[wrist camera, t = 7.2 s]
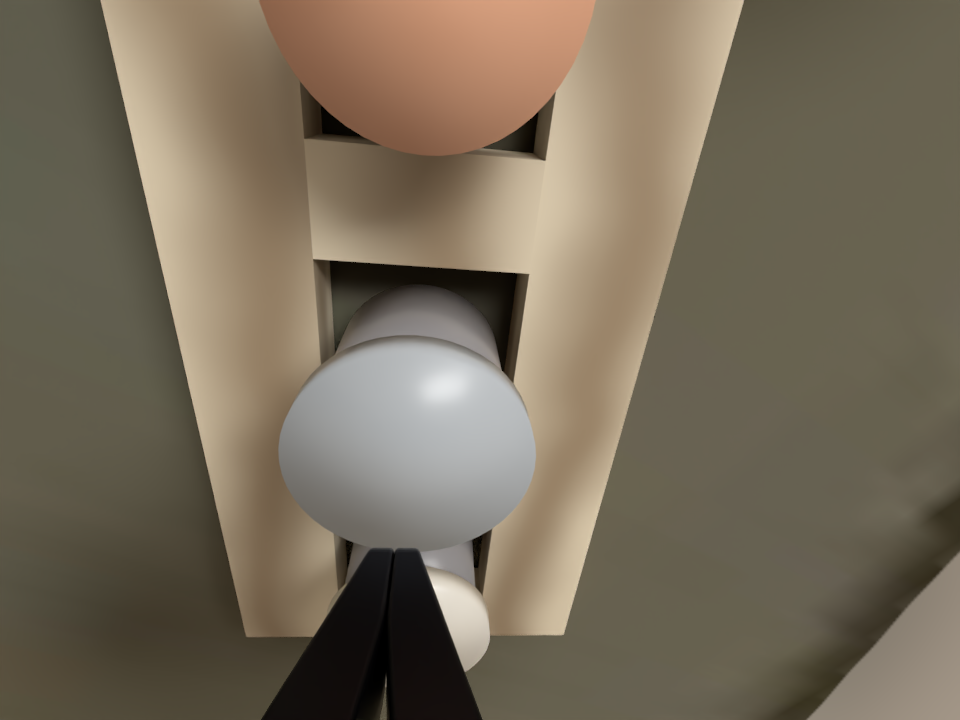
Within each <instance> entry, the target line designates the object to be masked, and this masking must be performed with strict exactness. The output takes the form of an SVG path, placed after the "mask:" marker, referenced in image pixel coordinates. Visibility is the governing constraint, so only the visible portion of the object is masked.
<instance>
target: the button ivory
mask: <svg viewBox="0 0 960 720" xmlns="http://www.w3.org/2000/svg"><path fill="white" fill-rule="evenodd" d="M370 549H371V548H370V547H366V546H362V545H360V544H357V543H353V548H352V553H351V558H350V562H349V567H348V572H347V577H346V582H345V585H344V586H343V587H342V588H341V589H340V590H339V591H338V592H337V593H336V594H335V595H334V597H333V598H332V600H331V602H330V604H329V606H328V611H327V615H328V613H329V612H330V610H331V608H332V607H333V605H334V604H335V602H336V600H337V599H338V597H339V596H340V594H341V593H342V591H343V589H344V588H345V586H346V585H347V583H348V582H349V580H350V578H351V577H352V575H353V574H354V572H355V571H356V569H357V567H358V566H359V564H360V563H361V561H362V559H363V558H364V556H365V555H366V553H367V552H368V551H369V550H370ZM420 553H421V556H422V558H423V561H424V564H425V567H426V569H427V572H428V575H429V577H430V580H431V583H432V585H433V588H434V591H435V593H436V596H437V599H438V601H439V604H440V607H441V610H442V612H443V615H444V618H445V620H446V623H447V626H448V628H449V631H450V634H451V636H452V639H453V642H454V644H455V647H456V650H457V653H458V655H459V658H460V661H461V663H462V666H463V669H464V671H465V672H466V671H467V670H469V669H470V668H472V667H473V666H474V665H475V664H476V663H477V662H478V661H479V660H480V659H481V658H482V656H483V655H484V654H485V652H486V650H487V648H488V645H489V641H490V630H489V618H488V609H487V605H486V602H485V599H484V598H483V596H482V594H481V593H480V592H479V591H478V590H477V588H476V587H475V577H474V560H473V544H472V540H470V541H467V542H465V543H462V544H459V545H456V546H452V547H448V548H444V549H439V550H433V551H425V552H420ZM327 615H326V616H327ZM385 687H386V684H385Z"/></svg>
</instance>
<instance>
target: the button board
mask: <svg viewBox="0 0 960 720" xmlns="http://www.w3.org/2000/svg"><path fill="white" fill-rule="evenodd" d="M743 2H744V0H596V1H595V6H594V10H593V15H592V18H591V21H590V24H589V27H588V30H587V33H586V36H585V39H584V42H583V44H582V46H581V48H580V51H579V53H578V55H577V57H576V59H575V62H574V64H573V65H572V67H571V69H570V70H569V72H568V74H567V75H566V77H565V79H564V80H563V82H562V84H561V85H560V86H559V88H558V89H557V90H556V92H555V93H554V94H553V96H552V97H551V98H550V99H549V101H548V102H547V103H546V104H545V105H544V106H543V107H542V108H541V109H540V110H539V113H538V121H537V128H536V136H535V143H534V151H533V153H527V152H516V151H506V150H495V149H484V148H480V149H477V150H473V151H469V152H465V153H462V154H453V155H445V156H426V155H417V154H411V153H405V152H401V151H397V150H394V149H391V148H388V147H384V146H382V145H380V144H377V143H375V142H373V141H371V140H369V139H366V138H364V137H356V136H346V135H335V134H324V133H322V120H321V104H320V103H319V102H318V101H317V100H316V99H315V98H314V97H313V96H312V95H311V94H310V93H309V92H308V90H307V89H306V88H305V87H304V85H303V84H302V83H301V82H300V80H299V79H298V78H297V77H296V75H295V74H294V72H293V71H292V69H291V67H290V66H289V64H288V63H287V61H286V60H285V58H284V56H283V55H282V53H281V51H280V49H279V47H278V45H277V43H276V41H275V39H274V37H273V35H272V33H271V31H270V29H269V27H268V24H267V21H266V19H265V16H264V13H263V11H262V8H261V5H260V3H259V0H101V4H102V9H103V13H104V17H105V22H106V26H107V30H108V35H109V39H110V43H111V48H112V52H113V57H114V61H115V65H116V70H117V74H118V78H119V83H120V87H121V92H122V96H123V100H124V105H125V109H126V113H127V118H128V122H129V127H130V131H131V135H132V140H133V144H134V148H135V153H136V157H137V161H138V166H139V170H140V175H141V179H142V183H143V188H144V192H145V196H146V201H147V205H148V210H149V214H150V218H151V223H152V227H153V231H154V236H155V240H156V245H157V249H158V253H159V258H160V262H161V266H162V271H163V275H164V280H165V284H166V288H167V293H168V297H169V301H170V306H171V310H172V314H173V319H174V323H175V328H176V332H177V336H178V341H179V345H180V349H181V354H182V358H183V363H184V367H185V371H186V376H187V380H188V384H189V389H190V393H191V398H192V402H193V406H194V411H195V415H196V419H197V424H198V428H199V432H200V437H201V441H202V446H203V450H204V454H205V459H206V463H207V467H208V472H209V476H210V481H211V485H212V489H213V494H214V498H215V502H216V507H217V511H218V516H219V520H220V524H221V529H222V533H223V537H224V542H225V546H226V551H227V555H228V559H229V564H230V568H231V572H232V577H233V581H234V585H235V590H236V594H237V599H238V603H239V607H240V612H241V616H242V620H243V625H244V629H245V634H246V637H314V635H315V634H316V632H317V630H318V629H319V627H320V626H321V624H322V623H323V621H324V619H325V618H326V615H327V611H328V606H329V604H330V602H331V600H332V598H333V597H334V595H335V594H336V593H337V592H338V591H339V590H340V589H341V588H342V587H343V586H344V585H345V582H346V577H347V572H348V567H347V550H346V539H344V538H342V537H340V536H337V535H335V534H334V533H332V532H330V531H329V530H327V529H325V528H324V527H322V526H321V525H320V524H318V523H317V522H316V521H314V520H313V519H312V518H311V517H310V516H309V515H308V514H307V513H306V512H305V511H304V510H303V509H302V508H301V507H300V506H299V504H298V503H297V502H296V501H295V499H294V498H293V496H292V495H291V493H290V491H289V490H288V488H287V486H286V483H285V481H284V478H283V476H282V473H281V468H280V464H279V452H278V447H279V439H280V433H281V430H282V427H283V423H284V421H285V419H286V417H287V415H288V412H289V410H290V408H291V406H292V404H293V402H294V400H295V398H296V396H297V395H298V393H299V391H300V389H301V387H302V386H303V384H304V383H305V381H306V380H307V379H308V377H309V376H310V375H311V374H312V373H313V372H314V371H315V370H316V369H317V368H318V367H319V366H320V365H321V364H323V363H324V362H325V361H327V360H328V359H329V358H331V357H332V356H333V355H335V344H334V326H333V309H332V292H331V275H330V260H334V261H349V262H363V263H378V264H392V265H407V266H422V267H436V268H451V269H465V270H480V271H495V272H509V273H517V279H516V287H515V294H514V302H513V309H512V317H511V324H510V332H509V339H508V347H507V354H506V362H505V370H504V373H505V374H506V375H507V377H508V378H509V379H510V380H511V381H512V383H513V384H514V385H515V387H516V388H517V390H518V392H519V393H520V395H521V397H522V399H523V401H524V404H525V406H526V409H527V412H528V416H529V420H530V424H531V427H532V431H533V436H534V440H535V448H536V461H535V469H534V473H533V477H532V480H531V483H530V485H529V487H528V489H527V492H526V493H525V495H524V497H523V498H522V500H521V501H520V503H519V504H518V505H517V507H516V508H515V509H514V510H513V511H512V512H511V514H509V515H508V516H507V517H506V518H505V519H504V520H503V521H502V522H501V523H499V524H498V525H496V526H495V527H494V528H492V529H491V530H489V531H487V532H486V533H484V534H483V536H482V543H481V551H480V558H479V566H478V568H474V577H475V587H476V588H477V590H478V591H479V592H480V593H481V594H482V596H483V598H484V599H485V602H486V605H487V609H488V618H489V630H490V635H564V631H565V628H566V624H567V620H568V617H569V613H570V610H571V606H572V603H573V599H574V596H575V592H576V589H577V585H578V582H579V578H580V575H581V571H582V568H583V564H584V561H585V557H586V554H587V550H588V547H589V543H590V540H591V536H592V533H593V529H594V526H595V522H596V519H597V515H598V512H599V508H600V505H601V501H602V498H603V494H604V490H605V487H606V483H607V480H608V476H609V473H610V469H611V466H612V462H613V459H614V455H615V452H616V448H617V445H618V441H619V438H620V434H621V431H622V427H623V424H624V420H625V417H626V413H627V410H628V406H629V403H630V399H631V396H632V392H633V389H634V385H635V382H636V378H637V375H638V371H639V368H640V364H641V360H642V357H643V353H644V350H645V346H646V343H647V339H648V336H649V332H650V329H651V325H652V322H653V318H654V315H655V311H656V308H657V304H658V301H659V297H660V294H661V290H662V287H663V283H664V280H665V276H666V273H667V269H668V266H669V262H670V259H671V255H672V252H673V248H674V245H675V241H676V237H677V234H678V230H679V227H680V223H681V220H682V216H683V213H684V209H685V206H686V202H687V199H688V195H689V192H690V188H691V185H692V181H693V178H694V174H695V171H696V167H697V164H698V160H699V157H700V153H701V150H702V146H703V143H704V139H705V136H706V132H707V129H708V125H709V122H710V118H711V115H712V111H713V107H714V104H715V100H716V97H717V93H718V90H719V86H720V83H721V79H722V76H723V72H724V69H725V65H726V62H727V58H728V55H729V51H730V48H731V44H732V41H733V37H734V34H735V30H736V27H737V23H738V20H739V16H740V13H741V9H742V6H743Z"/></svg>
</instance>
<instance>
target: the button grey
mask: <svg viewBox="0 0 960 720" xmlns="http://www.w3.org/2000/svg"><path fill="white" fill-rule="evenodd" d="M278 452H279V464H280V468H281V473H282V476H283V478H284V481H285V483H286V486H287V488H288V490H289V491H290V493H291V495H292V496H293V498H294V499H295V501H296V502H297V503H298V504H299V506H300V507H301V508H302V509H303V510H304V511H305V512H306V513H307V514H308V515H309V516H310V517H311V518H312V519H313V520H314V521H316V522H317V523H318V524H320V525H321V526H322V527H324V528H325V529H327V530H329V531H330V532H332V533H334V534H335V535H337V536H340V537H342V538H344V539H346V540H348V541H351V542H354V543H357V544H360V545H362V546H366V547H370V548H392V549H393V550H394V552H395V550H396V549H397V548H417V549H418V550H419V551H420V552H425V551H433V550H439V549H444V548H448V547H452V546H456V545H459V544H462V543H465V542H467V541H470V540H472V539H474V538H476V537H479V536H480V535H482V534H484V533H486V532H487V531H489V530H491V529H492V528H494V527H495V526H496V525H498V524H499V523H501V522H502V521H503V520H504V519H505V518H506V517H507V516H508V515H509V514H511V512H512V511H513V510H514V509H515V508H516V507H517V505H518V504H519V503H520V501H521V500H522V498H523V497H524V495H525V493H526V492H527V489H528V487H529V485H530V483H531V480H532V477H533V473H534V469H535V461H536V448H535V440H534V436H533V431H532V427H531V424H530V420H529V416H528V412H527V409H526V406H525V404H524V401H523V399H522V397H521V395H520V393H519V392H518V390H517V388H516V387H515V385H514V384H513V383H512V381H511V380H510V379H509V378H508V377H507V375H506V374H505V373H504V372H503V371H502V370H501V365H500V360H499V355H498V351H497V346H496V342H495V338H494V334H493V332H492V329H491V327H490V325H489V323H488V322H487V320H486V318H485V317H484V316H483V315H482V313H481V312H480V311H479V310H478V309H477V308H476V307H475V306H474V305H473V304H472V303H470V302H469V301H468V300H466V299H465V298H463V297H462V296H460V295H458V294H456V293H454V292H452V291H449V290H446V289H444V288H440V287H436V286H430V285H405V286H399V287H395V288H391V289H389V290H386V291H383V292H381V293H379V294H377V295H376V296H374V297H372V298H371V299H369V300H368V301H367V302H365V303H364V304H363V305H362V306H361V307H360V308H359V309H358V310H357V311H356V313H355V314H354V315H353V317H352V318H351V320H350V321H349V323H348V325H347V327H346V330H345V332H344V334H343V337H342V339H341V341H340V344H339V346H338V348H337V351H336V353H335V355H333V356H332V357H331V358H329V359H328V360H327V361H325V362H324V363H323V364H321V365H320V366H319V367H318V368H317V369H316V370H315V371H314V372H313V373H312V374H311V375H310V376H309V377H308V379H307V380H306V381H305V383H304V384H303V386H302V387H301V389H300V391H299V393H298V395H297V396H296V398H295V400H294V402H293V404H292V406H291V408H290V410H289V412H288V415H287V417H286V419H285V421H284V423H283V427H282V430H281V433H280V439H279V447H278Z"/></svg>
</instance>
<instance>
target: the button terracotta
mask: <svg viewBox="0 0 960 720" xmlns="http://www.w3.org/2000/svg"><path fill="white" fill-rule="evenodd" d="M595 1H596V0H259V3H260V5H261V8H262V11H263V13H264V16H265V19H266V21H267V24H268V27H269V29H270V31H271V33H272V35H273V37H274V39H275V41H276V43H277V45H278V47H279V49H280V51H281V53H282V55H283V56H284V58H285V60H286V61H287V63H288V64H289V66H290V67H291V69H292V71H293V72H294V74H295V75H296V77H297V78H298V79H299V80H300V82H301V83H302V84H303V85H304V87H305V88H306V89H307V90H308V92H309V93H310V94H311V95H312V96H313V97H314V98H315V99H316V100H317V101H318V102H319V103H320V104H321V105H322V106H323V107H324V108H325V109H326V110H327V111H328V112H329V113H330V114H331V115H333V116H334V117H335V118H336V119H338V120H339V121H340V122H341V123H343V124H344V125H345V126H347V127H348V128H350V129H351V130H353V131H355V132H356V133H358V134H359V135H361V136H363V137H364V138H366V139H369V140H371V141H373V142H375V143H377V144H380V145H382V146H384V147H388V148H391V149H394V150H397V151H401V152H405V153H411V154H417V155H426V156H445V155H453V154H462V153H465V152H469V151H473V150H477V149H480V148H483V147H485V146H487V145H490V144H492V143H494V142H497V141H499V140H501V139H502V138H504V137H506V136H507V135H509V134H511V133H512V132H514V131H516V130H517V129H518V128H520V127H521V126H522V125H523V124H525V123H526V122H527V121H528V120H530V119H531V118H532V117H533V116H534V115H535V114H536V113H537V112H538V111H539V110H540V109H541V108H542V107H543V106H544V105H545V104H546V103H547V102H548V101H549V99H550V98H551V97H552V96H553V94H554V93H555V92H556V90H557V89H558V88H559V86H560V85H561V84H562V82H563V80H564V79H565V77H566V75H567V74H568V72H569V70H570V69H571V67H572V65H573V64H574V62H575V59H576V57H577V55H578V53H579V51H580V48H581V46H582V44H583V42H584V39H585V36H586V33H587V30H588V27H589V24H590V21H591V18H592V15H593V10H594V6H595Z"/></svg>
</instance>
